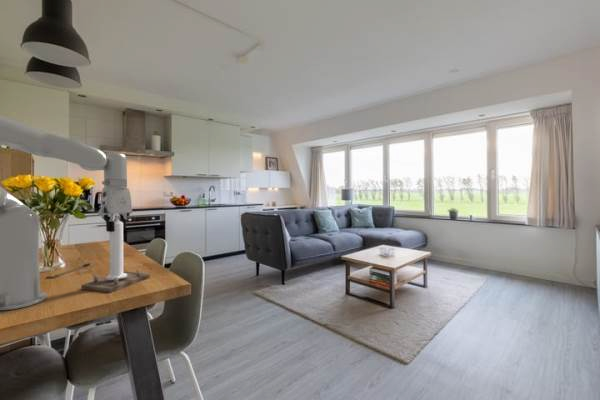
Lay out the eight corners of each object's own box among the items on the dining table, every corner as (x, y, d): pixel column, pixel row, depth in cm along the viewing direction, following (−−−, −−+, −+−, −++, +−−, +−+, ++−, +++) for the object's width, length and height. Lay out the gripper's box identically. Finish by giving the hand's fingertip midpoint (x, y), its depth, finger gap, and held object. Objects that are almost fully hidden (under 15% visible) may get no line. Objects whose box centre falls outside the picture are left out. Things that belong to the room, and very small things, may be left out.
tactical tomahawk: (59, 281, 115) (60, 278, 115) (45, 279, 115) (45, 277, 115) (99, 266, 136) (100, 264, 135) (87, 265, 136) (87, 263, 136)
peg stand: (110, 292, 99) (110, 281, 99) (81, 288, 103) (81, 278, 103) (150, 277, 117) (149, 268, 117) (123, 274, 120) (123, 265, 120)
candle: (106, 281, 104) (106, 215, 104) (105, 276, 110) (104, 214, 109) (128, 277, 109) (128, 214, 108) (125, 273, 114) (125, 213, 114)
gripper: (102, 183, 99) (103, 234, 100) (141, 185, 116) (141, 228, 116) (86, 183, 101) (87, 233, 102) (126, 185, 118) (127, 227, 118)
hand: (116, 230), depth 109 cm, fingers closed on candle, 4 cm apart
